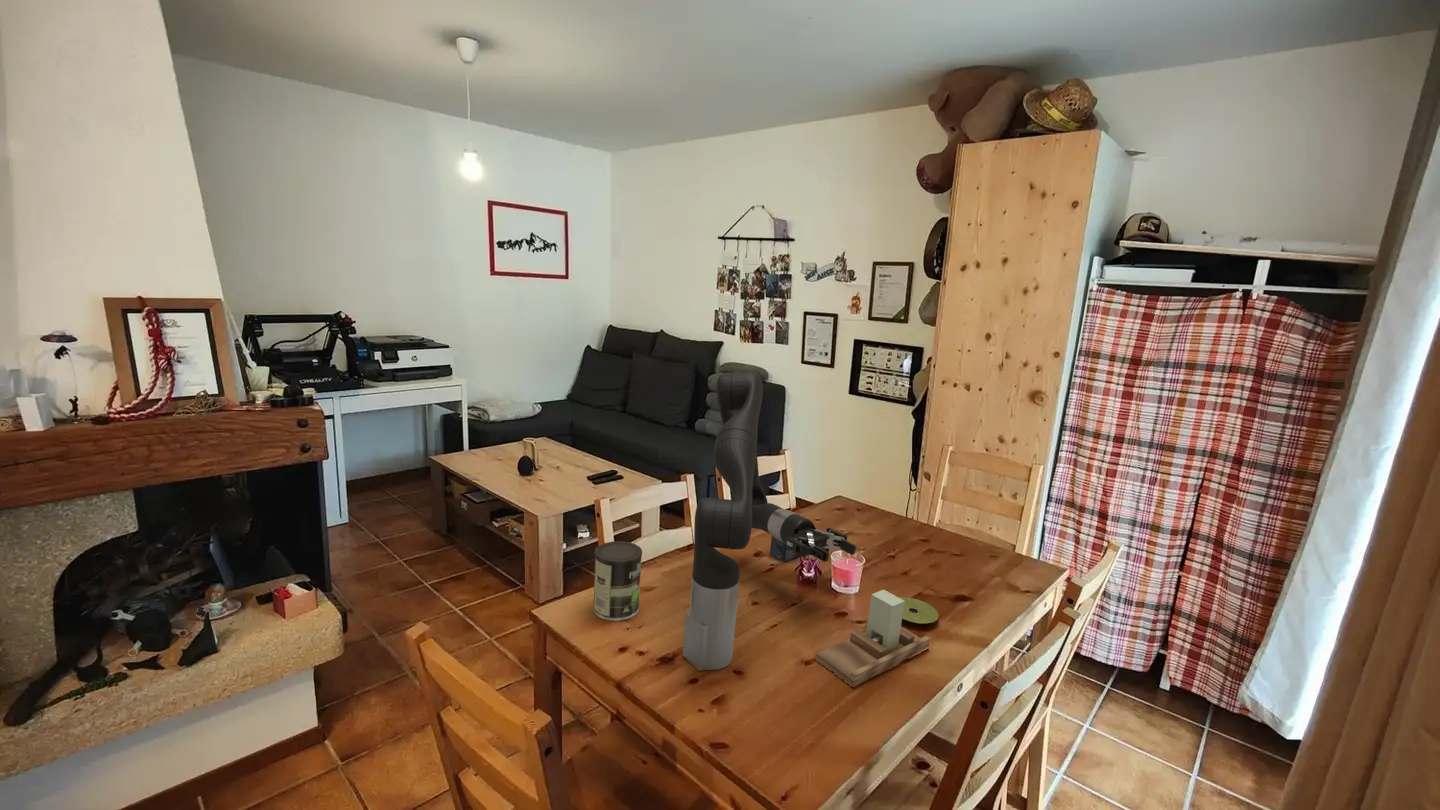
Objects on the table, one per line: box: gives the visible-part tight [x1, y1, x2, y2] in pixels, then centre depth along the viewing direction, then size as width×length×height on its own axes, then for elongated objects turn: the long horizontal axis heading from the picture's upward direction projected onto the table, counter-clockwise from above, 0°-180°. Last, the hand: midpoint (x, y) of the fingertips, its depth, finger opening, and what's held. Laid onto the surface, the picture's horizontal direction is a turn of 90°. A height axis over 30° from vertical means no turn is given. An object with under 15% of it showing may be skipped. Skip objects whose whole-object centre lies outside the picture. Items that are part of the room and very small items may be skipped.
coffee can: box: [592, 540, 643, 622], centre depth 136 cm, size 10×10×14 cm
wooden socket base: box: [815, 626, 931, 686], centre depth 127 cm, size 24×10×4 cm, turn 127°
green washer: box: [899, 597, 939, 625], centre depth 143 cm, size 11×11×2 cm
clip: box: [865, 589, 905, 652], centre depth 128 cm, size 4×5×10 cm
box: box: [769, 535, 801, 563], centre depth 169 cm, size 8×6×11 cm
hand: (841, 553), depth 133 cm, fingers open, 8 cm apart
